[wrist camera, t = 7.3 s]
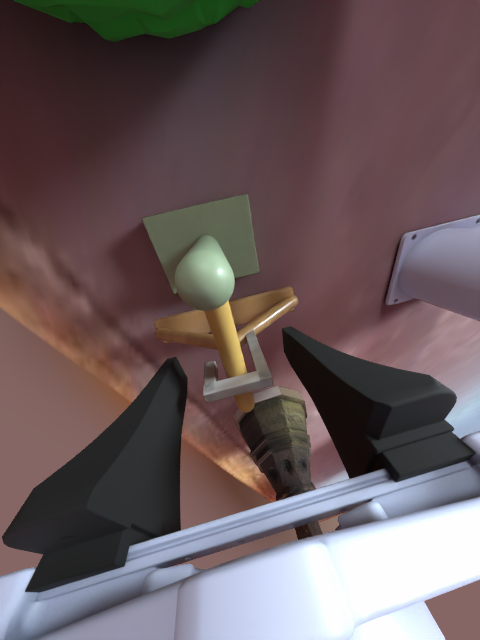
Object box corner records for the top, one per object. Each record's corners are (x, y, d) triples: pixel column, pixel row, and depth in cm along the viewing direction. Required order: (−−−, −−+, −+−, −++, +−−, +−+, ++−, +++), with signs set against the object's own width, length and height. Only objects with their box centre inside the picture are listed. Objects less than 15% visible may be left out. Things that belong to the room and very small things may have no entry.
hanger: (292, 285, 16) (366, 340, 9) (293, 307, 18) (359, 373, 10) (152, 319, 16) (97, 410, 8) (163, 340, 17) (124, 435, 9)
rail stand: (245, 195, 14) (344, 116, 4) (265, 325, 20) (321, 426, 10) (146, 218, 13) (-39, 200, 3) (198, 343, 20) (187, 465, 10)
